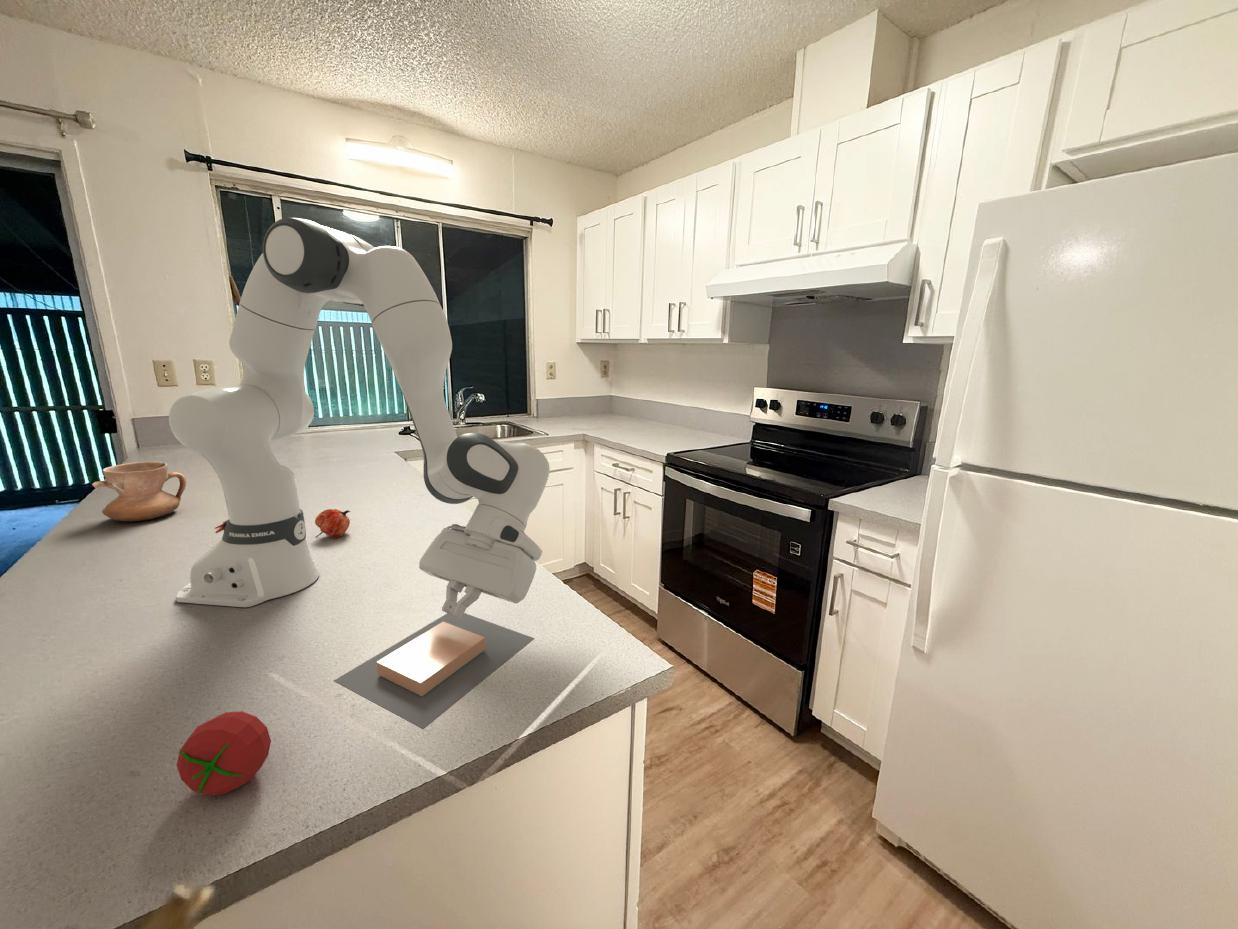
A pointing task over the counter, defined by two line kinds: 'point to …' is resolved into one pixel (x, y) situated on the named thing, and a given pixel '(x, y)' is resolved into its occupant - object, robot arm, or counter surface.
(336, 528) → the pomegranate
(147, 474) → the ceramic jug
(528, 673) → the counter surface
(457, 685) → the mat
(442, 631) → the tile
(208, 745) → the tomato
